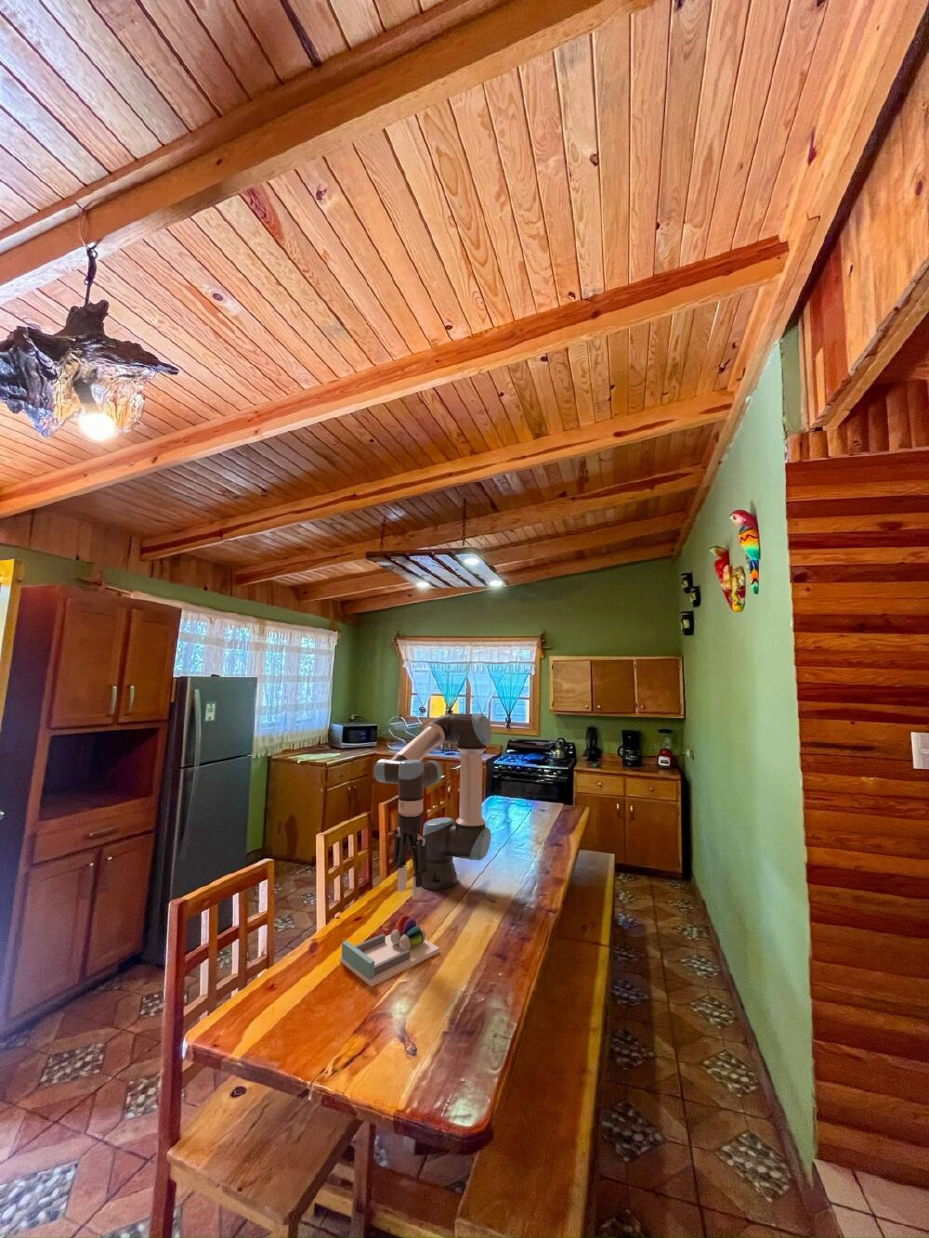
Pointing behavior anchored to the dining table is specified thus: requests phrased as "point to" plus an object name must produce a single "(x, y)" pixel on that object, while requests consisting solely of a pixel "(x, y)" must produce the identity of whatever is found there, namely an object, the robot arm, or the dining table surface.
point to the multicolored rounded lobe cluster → (407, 933)
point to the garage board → (383, 958)
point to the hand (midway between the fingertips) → (409, 893)
